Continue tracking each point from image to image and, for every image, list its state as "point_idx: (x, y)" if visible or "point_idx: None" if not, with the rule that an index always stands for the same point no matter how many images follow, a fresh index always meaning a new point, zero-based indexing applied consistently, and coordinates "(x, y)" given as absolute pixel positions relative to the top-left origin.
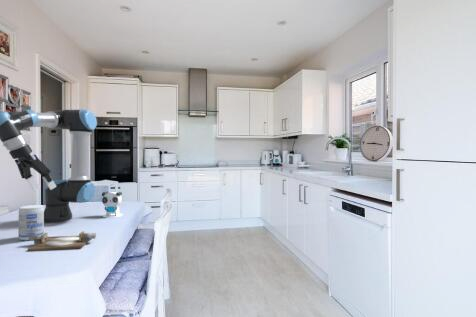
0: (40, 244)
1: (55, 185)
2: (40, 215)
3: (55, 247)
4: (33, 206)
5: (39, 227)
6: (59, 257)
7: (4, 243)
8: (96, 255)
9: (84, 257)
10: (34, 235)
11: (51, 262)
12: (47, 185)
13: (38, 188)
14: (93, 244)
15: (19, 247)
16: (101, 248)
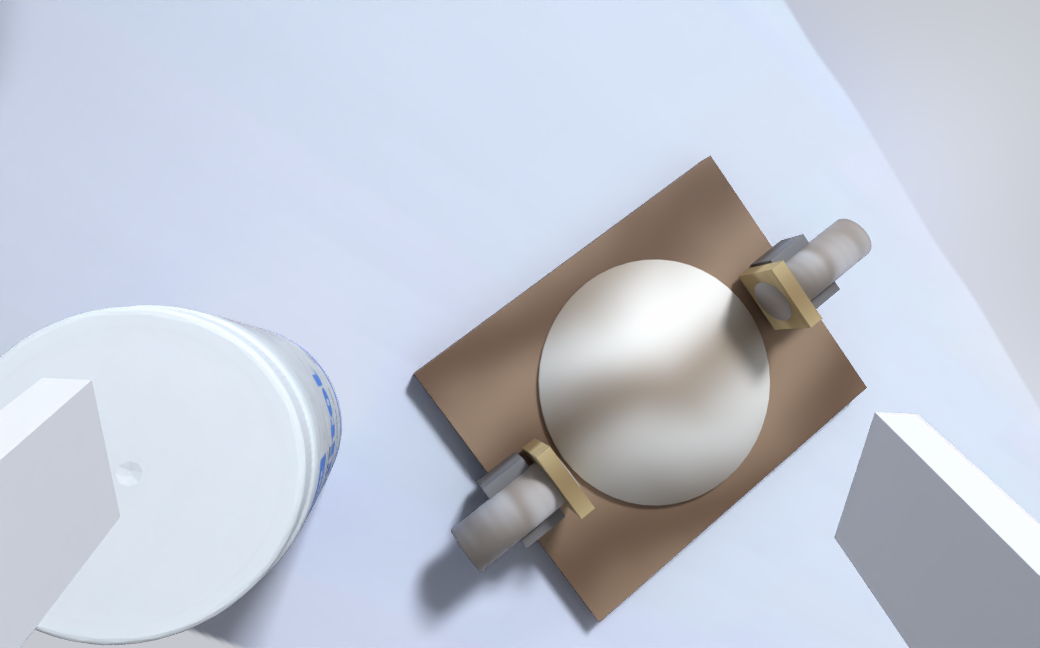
0: (580, 518)
1: (935, 445)
2: (317, 407)
3: (741, 494)
4: (151, 453)
5: (332, 409)
6: None
7: (205, 635)
8: (1026, 414)
9: (999, 472)
10: (504, 538)
11: None
12: (910, 641)
13: (82, 441)
14: (844, 282)
15: (444, 609)
16: (952, 313)
